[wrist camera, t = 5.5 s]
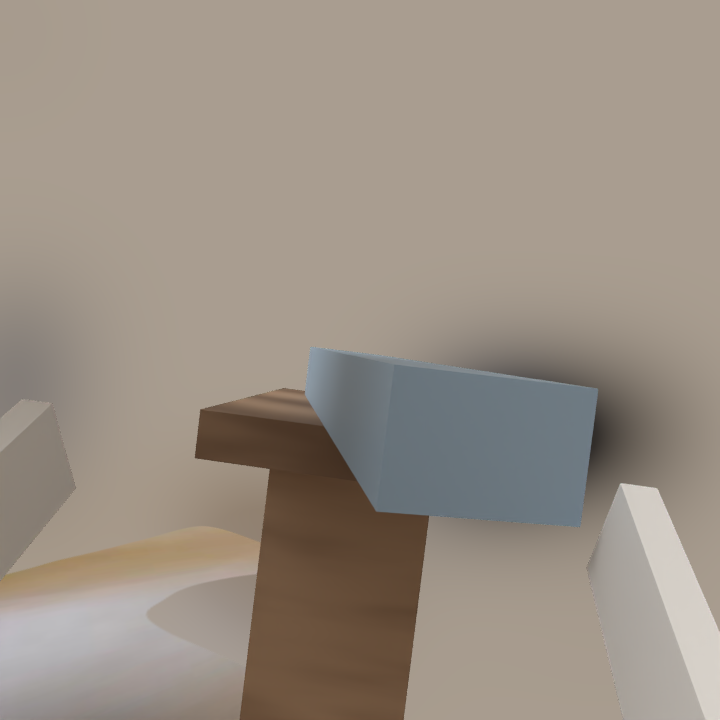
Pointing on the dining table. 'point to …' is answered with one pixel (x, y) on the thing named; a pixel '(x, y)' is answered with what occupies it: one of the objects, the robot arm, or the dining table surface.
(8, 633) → the dining table surface
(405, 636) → the stand
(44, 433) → the robot arm
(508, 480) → the bar
